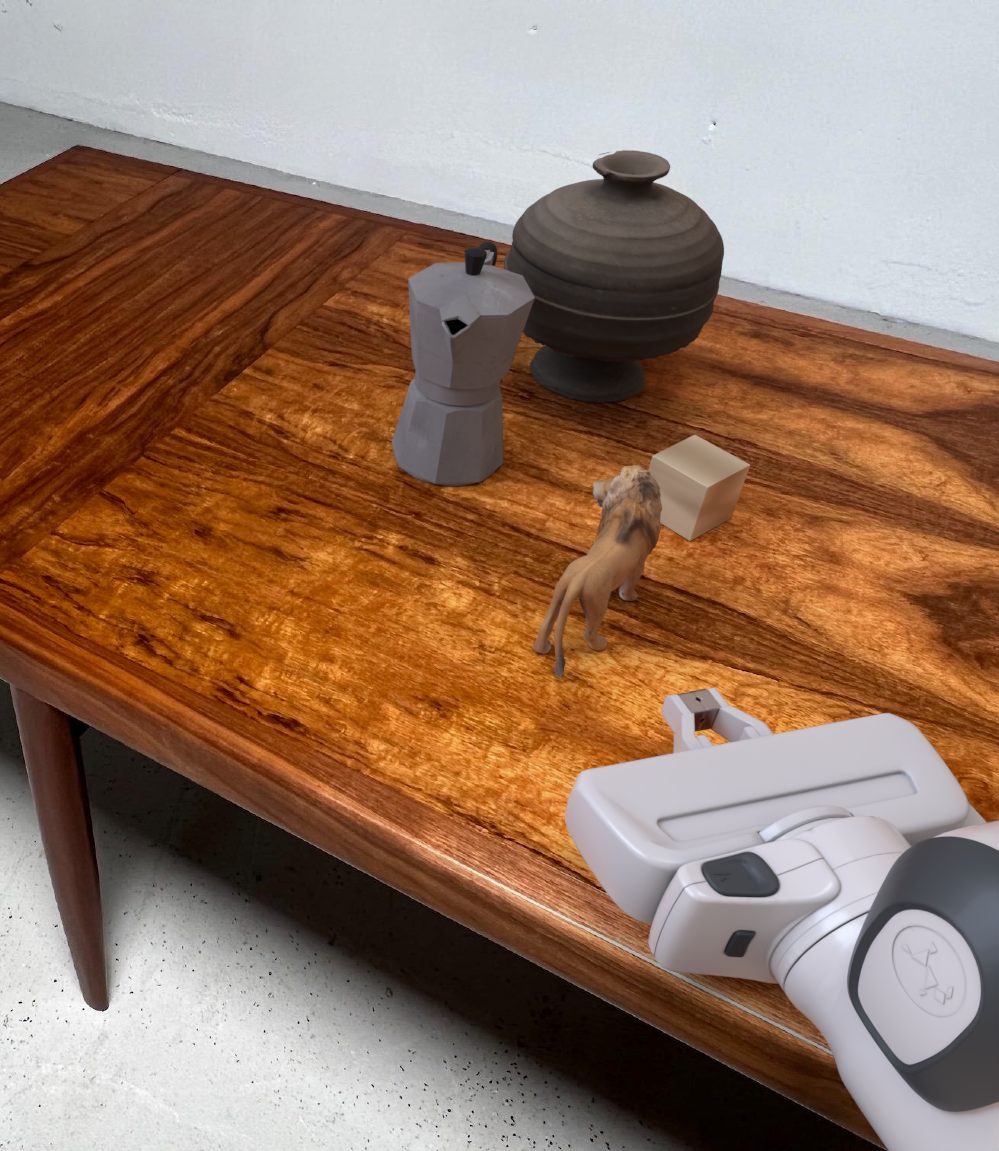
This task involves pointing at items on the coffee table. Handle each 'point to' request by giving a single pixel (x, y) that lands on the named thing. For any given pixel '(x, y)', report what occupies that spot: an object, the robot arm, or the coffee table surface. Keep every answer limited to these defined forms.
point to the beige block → (697, 485)
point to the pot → (614, 276)
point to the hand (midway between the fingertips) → (686, 698)
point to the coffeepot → (460, 367)
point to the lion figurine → (607, 558)
